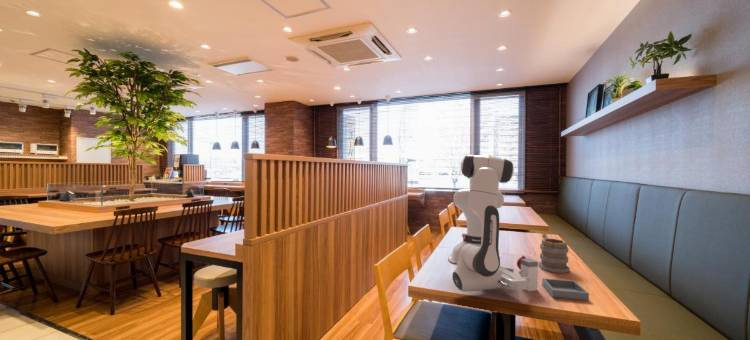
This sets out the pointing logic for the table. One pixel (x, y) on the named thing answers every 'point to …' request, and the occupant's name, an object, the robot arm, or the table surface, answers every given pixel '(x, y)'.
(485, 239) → the robot arm
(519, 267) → the onion
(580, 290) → the walled box
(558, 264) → the tankard
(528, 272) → the plug
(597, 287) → the table surface
